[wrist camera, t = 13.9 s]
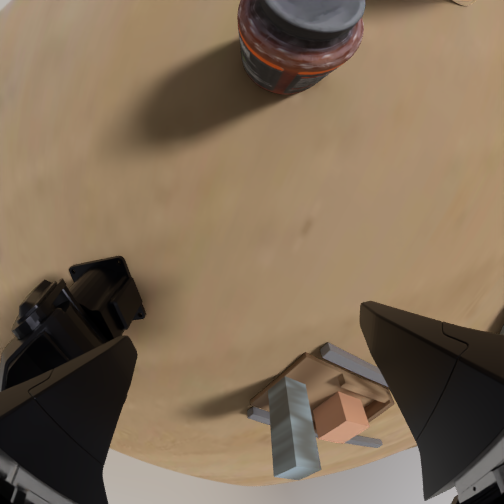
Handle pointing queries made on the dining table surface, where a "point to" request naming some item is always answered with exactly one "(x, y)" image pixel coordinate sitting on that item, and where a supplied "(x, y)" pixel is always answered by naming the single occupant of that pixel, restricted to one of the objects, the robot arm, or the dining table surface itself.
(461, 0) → the beer glass
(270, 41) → the supplement bottle
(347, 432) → the cube
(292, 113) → the dining table surface
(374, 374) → the lane
